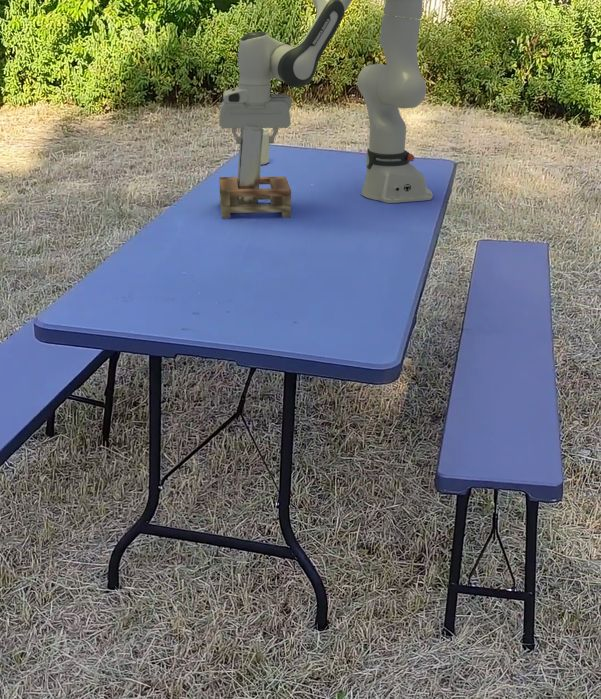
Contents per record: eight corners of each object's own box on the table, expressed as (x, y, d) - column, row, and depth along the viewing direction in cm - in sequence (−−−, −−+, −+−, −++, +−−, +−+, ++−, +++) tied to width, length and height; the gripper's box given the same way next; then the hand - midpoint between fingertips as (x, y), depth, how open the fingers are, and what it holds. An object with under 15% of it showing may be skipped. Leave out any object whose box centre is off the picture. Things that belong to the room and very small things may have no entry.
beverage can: (244, 164, 300) (244, 130, 295) (249, 159, 307) (249, 125, 302) (266, 166, 299) (266, 131, 294) (271, 160, 306) (271, 127, 301)
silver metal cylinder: (256, 213, 251) (263, 127, 240) (234, 211, 250) (240, 125, 240) (257, 207, 257) (264, 123, 246) (236, 205, 256) (241, 120, 245)
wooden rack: (285, 202, 262) (285, 176, 258) (290, 217, 248) (291, 190, 245) (220, 203, 259) (219, 177, 256) (221, 218, 246) (221, 191, 243)
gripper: (290, 91, 243) (289, 140, 249) (218, 92, 240) (219, 141, 247) (292, 95, 237) (292, 145, 243) (218, 96, 235) (220, 146, 241)
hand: (255, 143), depth 245 cm, fingers open, 8 cm apart
